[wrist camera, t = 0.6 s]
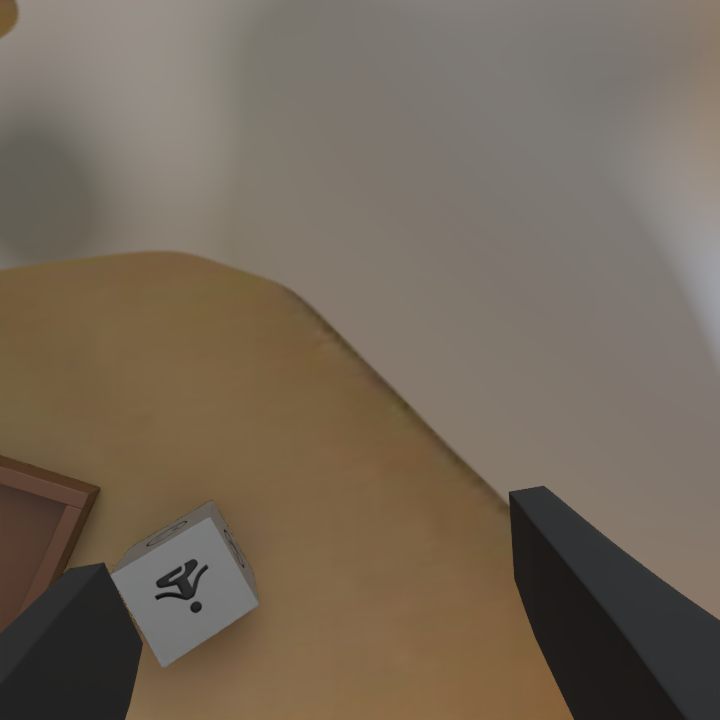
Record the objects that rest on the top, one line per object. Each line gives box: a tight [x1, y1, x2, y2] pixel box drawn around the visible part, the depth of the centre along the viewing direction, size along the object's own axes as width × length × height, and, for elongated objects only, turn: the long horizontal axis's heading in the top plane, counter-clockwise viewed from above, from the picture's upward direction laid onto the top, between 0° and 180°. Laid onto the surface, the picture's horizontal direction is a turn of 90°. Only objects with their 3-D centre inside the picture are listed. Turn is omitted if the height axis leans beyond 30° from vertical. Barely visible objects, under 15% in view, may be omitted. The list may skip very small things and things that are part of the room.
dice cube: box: [110, 500, 259, 668], centre depth 27 cm, size 5×5×5 cm
